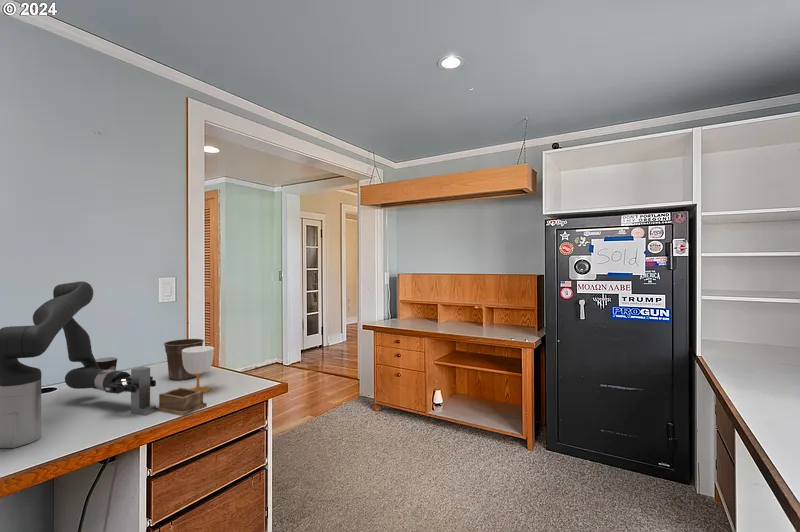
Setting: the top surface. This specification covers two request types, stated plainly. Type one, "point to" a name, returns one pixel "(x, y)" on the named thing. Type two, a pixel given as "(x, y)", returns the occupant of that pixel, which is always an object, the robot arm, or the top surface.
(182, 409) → the box
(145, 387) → the bracket
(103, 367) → the coffee mug
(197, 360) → the cup
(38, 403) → the robot arm
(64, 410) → the top surface
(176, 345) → the plant pot
